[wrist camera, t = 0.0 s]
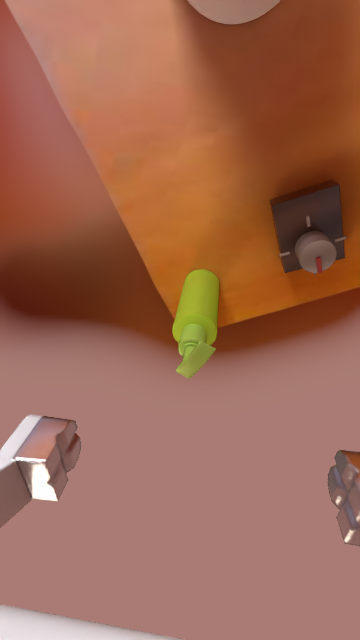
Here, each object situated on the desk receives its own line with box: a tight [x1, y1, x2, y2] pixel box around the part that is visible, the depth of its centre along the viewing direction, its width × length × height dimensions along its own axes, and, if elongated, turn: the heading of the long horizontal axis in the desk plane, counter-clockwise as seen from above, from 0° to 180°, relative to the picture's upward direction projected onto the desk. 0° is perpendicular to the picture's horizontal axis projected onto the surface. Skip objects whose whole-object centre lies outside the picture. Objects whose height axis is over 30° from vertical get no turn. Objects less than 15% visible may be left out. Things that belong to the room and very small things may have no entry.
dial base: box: [270, 180, 347, 275], centre depth 41 cm, size 11×9×3 cm
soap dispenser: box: [172, 269, 220, 379], centre depth 42 cm, size 6×7×20 cm
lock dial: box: [295, 231, 337, 273], centre depth 39 cm, size 4×4×4 cm
